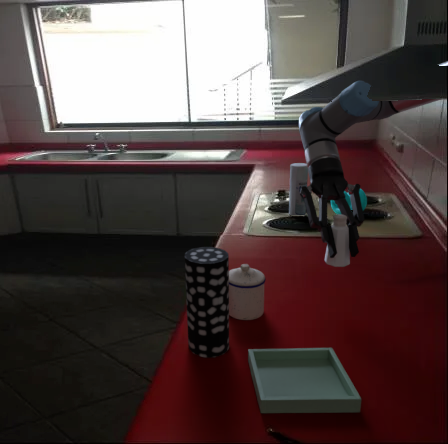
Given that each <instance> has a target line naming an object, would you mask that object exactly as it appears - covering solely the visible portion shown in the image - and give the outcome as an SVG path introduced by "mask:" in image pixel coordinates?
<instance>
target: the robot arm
mask: <svg viewBox="0 0 448 444" xmlns="http://www.w3.org/2000/svg"><path fill="white" fill-rule="evenodd" d="M438 65H439V66H448V60H446V61H444V62H442V63H439V64H438ZM371 86H372V85H371V84H370V83H369V82H366V81H364V80H357V81H355V82H353V83H352V84H350V85H349V86H347V87H345V88H344V89H343V90H341V92H340V93H339V94H338V95H337V96H336V97H334V98H333V99H332V100H331V101H332V102H331V101H330V102H329V103H327V104H326V105H325V106H324V107H322V106H314V107H311V108H310V109H306V110H304V111H303V112H302V113H301V114H300V116H299V118H298V127H299V135H300V138H301V142H302V146H303V152H304V157H305V164H307V167H308V178H309V182H310V184H309V185H307V187H306V186H303V187H302V188H301V191H300V196H301V197H302V198H303V200H304V203H305V207H306V215H307V219H308V223H309V227H310V228H311V229H317V231H318V232H319V234H320V238H321V241H322V243H324V244H326V247H327V246H328V251H329V256H330V258H334V257H335V255H336V254H337V250H336V245H335V240H334V236H333V231H332V227H331V226H332V225H328V201H331V200H334V201H335V204H337V205H338V208H339V210H340V212H341V214H342V215H345V216H347V220H346V226H347V227H348V228H349V250H350V258H356V257H357V255H358V254H359V253H360V250H359V246H358V241H359V240H360V233H359V230H358V228H359V227H361V226H362V224H363V223H364V222H365V214H364V211H363V209H362V205H361V200H360V195H359V191H360V189H361V184H360V183H355V184H351V183H349V182H348V180H347V179H346V178H345V174H344V169H343V165H342V162H341V158H340V153H339V150H338V146H337V142H336V138H337V137H338V136H340V135H342V134H343V133H344V132H346V131H347V130H348V129H349V128H351V127H352V126H353V125H355V124H359V123H366V122H370V121H377V120H378V121H379V120H384V119H388V118H391V117H392V116H394V115H397V114H400V113H403V112H405V111H409V110H413V109H415V108H419V107H422V106H425V105H429V104H432V103H435V102H438V101H441V100H442V99H422V100H398V101H372V99H369V98H368V97H367V95H368V92H369V90H370V87H371ZM344 191H347V193H349V195H350V200H351V205H352V210H353V212H352V211H351V209H350V207H349V205H348V203H347V201H346V198H345V194H344ZM312 193H313V194H314V195H315V196H316V197H317V198H318V214H317V210H316V207H315V202H314V199H313V195H312Z"/></svg>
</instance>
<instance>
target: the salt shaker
mask: <svg viewBox="0 0 448 444" xmlns="http://www.w3.org/2000/svg"><path fill="white" fill-rule="evenodd" d="M332 218H333V219H332V220H333V221H332V223H333V224H332V225H330V226H331V227H332V231H333V236H334V240H335V245H336V250H337V254H336V255H335V257H334V258H330V256H329V251H328V246H327V245H326V248H325V254H324V259H323V260H324V262H325V264H326V265H329V266H331V267H334V268H346V267H347V266H349V265H350V264H351V254H350V250H349V228H348V227H347V225H346V220H347V216H345V215H341V214H334V215H333V216H332Z"/></svg>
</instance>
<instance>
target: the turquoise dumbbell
mask: <svg viewBox="0 0 448 444" xmlns="http://www.w3.org/2000/svg"><path fill="white" fill-rule="evenodd" d="M344 194H345V198H346V201H347V203H348V205H349V207H350V209H351V210H352V205H351V200H350V195H349V193H348V191H347V190H345V191H344ZM359 195H360V200H361V205H362V209H363V212H364V211H365V210H366V207H367V204H368V197H367V194H366V192H365V191H364V190H363V189H362V188H360V191H359ZM330 206H331V209H332V211H333V212H334V213H335V215H337V214H341V212H340V210H339V208H338V205H337V204H335V201H334V200H330ZM341 215H342V214H341Z"/></svg>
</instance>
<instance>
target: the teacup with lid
mask: <svg viewBox="0 0 448 444" xmlns="http://www.w3.org/2000/svg"><path fill="white" fill-rule="evenodd" d="M265 283H266V276H265V274H264V273H263V272H262V271H260V269H259V270H258V269H257V268H252V267H251V266H250V265H249V264H248V263H243V264H240V267H237V268H232V269H229V317H232V318H233V319H237V320H240V321H253V320H256V319H259V318H261V317H262V316H263V314H264V312H265Z"/></svg>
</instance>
